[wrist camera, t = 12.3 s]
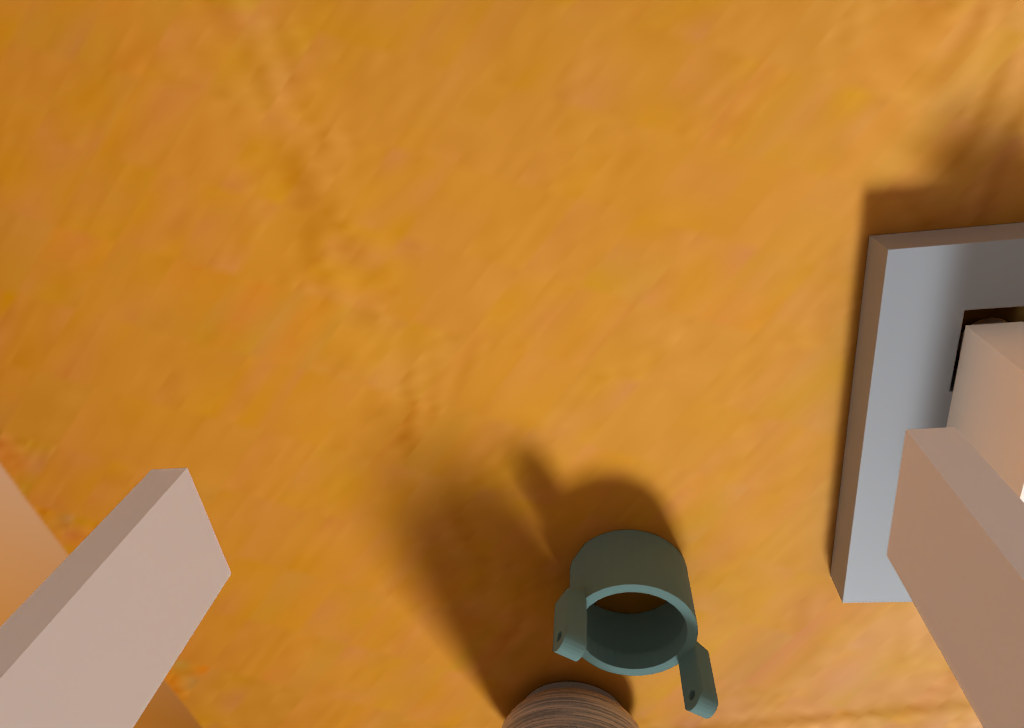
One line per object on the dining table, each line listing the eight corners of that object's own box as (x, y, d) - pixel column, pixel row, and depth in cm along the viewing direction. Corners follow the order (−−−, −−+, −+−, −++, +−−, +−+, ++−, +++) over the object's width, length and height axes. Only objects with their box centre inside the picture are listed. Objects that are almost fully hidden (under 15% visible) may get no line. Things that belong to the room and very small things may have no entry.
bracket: (553, 536, 47) (546, 641, 39) (687, 522, 46) (708, 629, 38) (577, 626, 51) (575, 738, 43) (700, 616, 49) (722, 731, 42)
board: (869, 235, 36) (888, 249, 34) (1143, 211, 34) (1182, 225, 32) (830, 574, 46) (842, 602, 44) (1037, 570, 45) (1061, 599, 42)
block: (947, 310, 37) (1051, 394, 28) (1037, 304, 36) (1171, 387, 28) (907, 538, 44) (981, 657, 36) (982, 536, 43) (1075, 657, 35)
